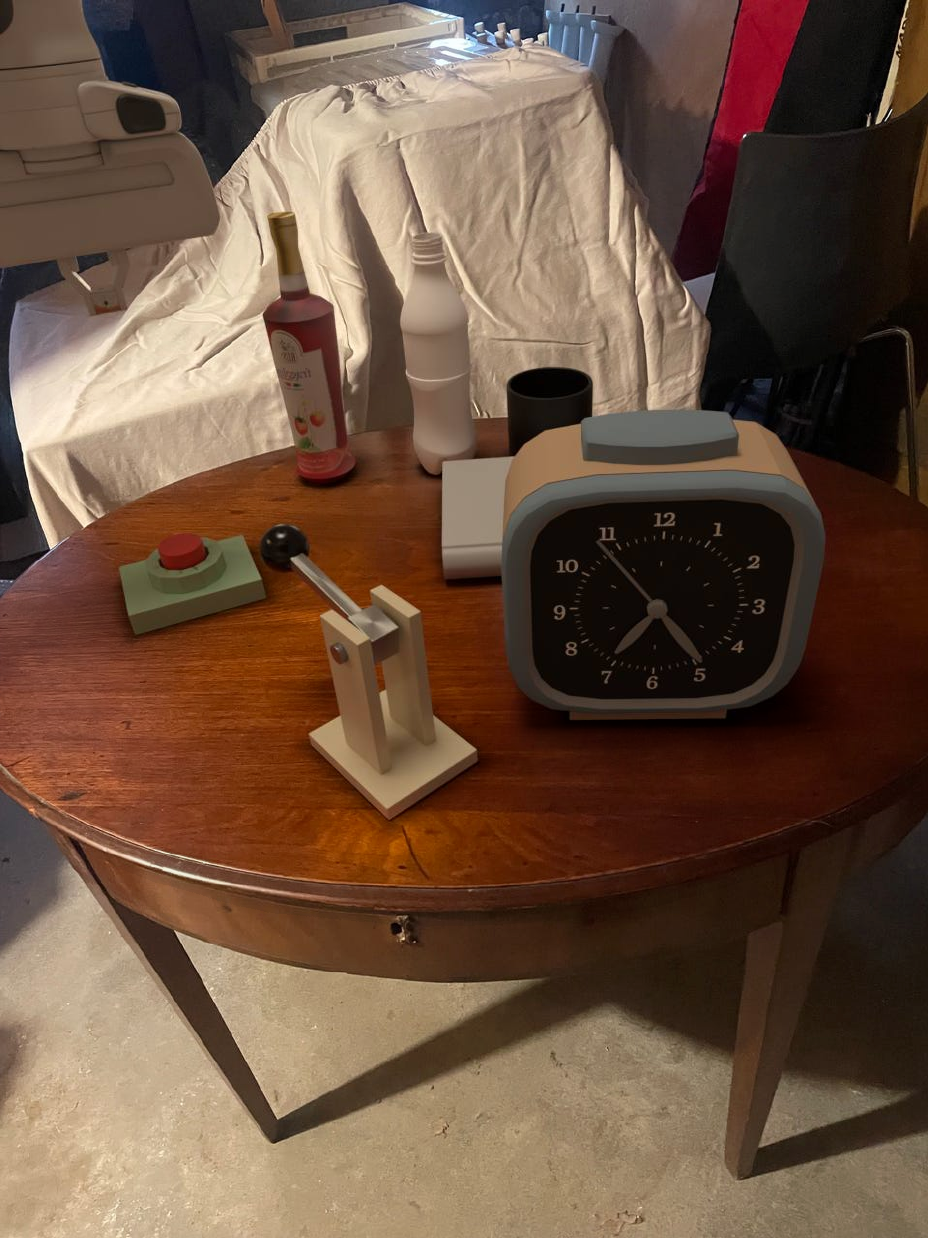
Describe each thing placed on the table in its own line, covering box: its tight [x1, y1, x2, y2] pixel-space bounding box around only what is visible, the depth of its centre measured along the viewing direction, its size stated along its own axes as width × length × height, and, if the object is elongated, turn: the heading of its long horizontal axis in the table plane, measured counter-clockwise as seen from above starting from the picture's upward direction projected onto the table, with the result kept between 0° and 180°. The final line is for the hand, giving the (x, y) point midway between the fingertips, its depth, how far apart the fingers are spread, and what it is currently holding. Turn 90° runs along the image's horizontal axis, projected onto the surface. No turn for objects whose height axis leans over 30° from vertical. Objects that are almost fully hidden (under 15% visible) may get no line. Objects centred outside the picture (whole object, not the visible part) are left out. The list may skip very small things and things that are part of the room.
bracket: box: [308, 584, 479, 821], centre depth 61 cm, size 10×8×13 cm
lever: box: [258, 523, 399, 666], centre depth 61 cm, size 14×4×4 cm, turn 40°
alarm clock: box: [501, 409, 827, 721], centre depth 62 cm, size 21×10×22 cm, turn 87°
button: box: [157, 532, 206, 570], centre depth 81 cm, size 4×4×2 cm
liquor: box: [262, 211, 356, 485], centre depth 93 cm, size 7×7×28 cm
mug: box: [505, 366, 594, 457], centre depth 99 cm, size 9×12×9 cm
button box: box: [118, 534, 267, 636], centre depth 82 cm, size 12×9×4 cm
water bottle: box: [399, 232, 478, 476], centre depth 94 cm, size 7×7×25 cm
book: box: [441, 456, 515, 580], centre depth 87 cm, size 18×4×24 cm
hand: (108, 311), depth 70 cm, fingers closed
